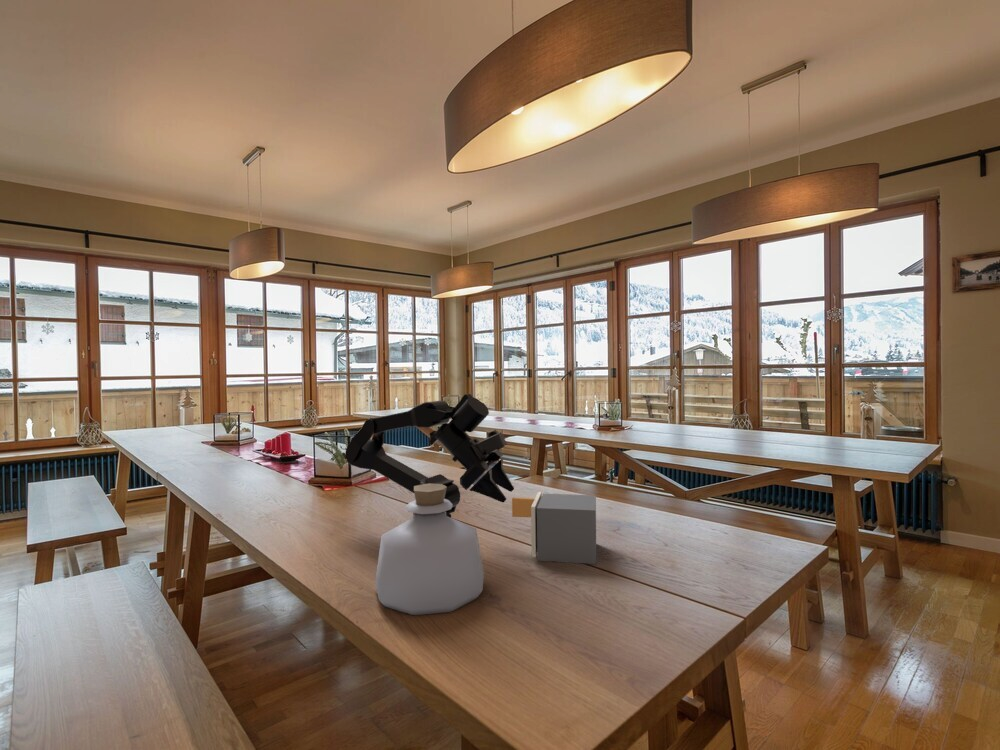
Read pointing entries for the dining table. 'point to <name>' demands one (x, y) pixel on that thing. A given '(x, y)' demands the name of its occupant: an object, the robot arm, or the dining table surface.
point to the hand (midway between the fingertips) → (509, 495)
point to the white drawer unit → (528, 515)
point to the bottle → (429, 558)
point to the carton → (566, 528)
